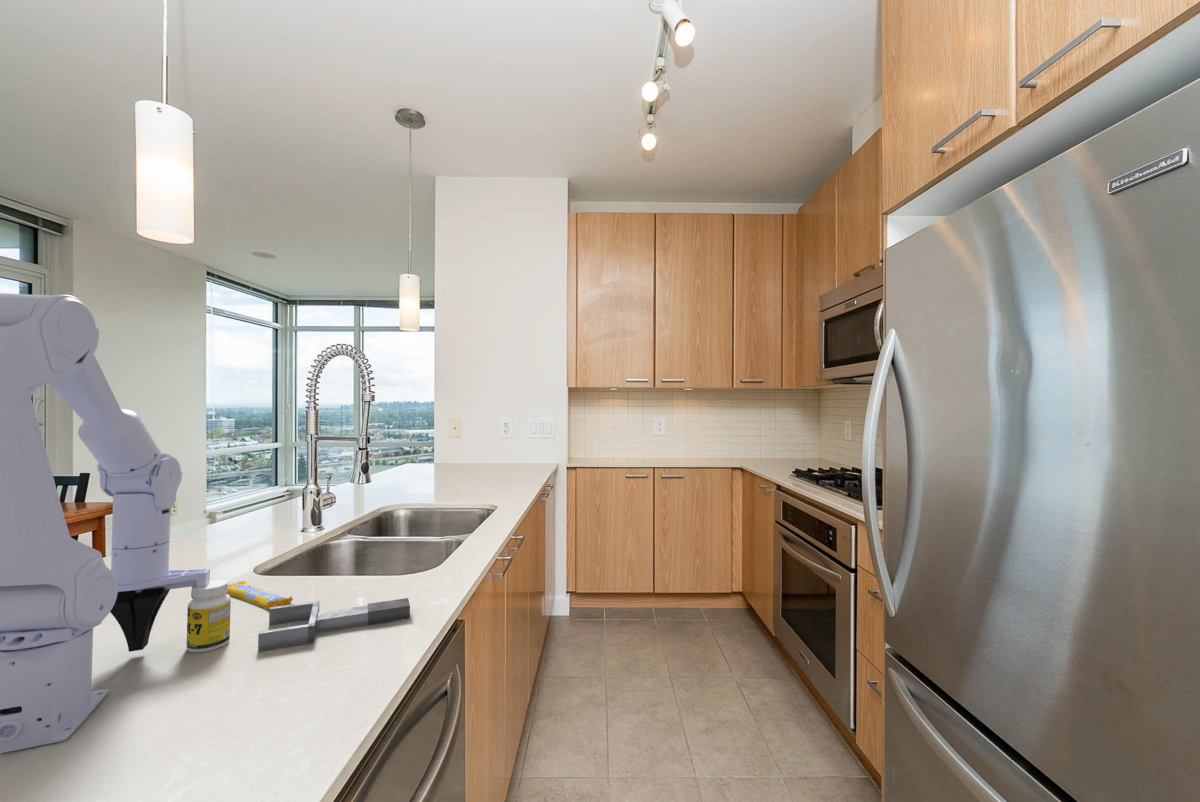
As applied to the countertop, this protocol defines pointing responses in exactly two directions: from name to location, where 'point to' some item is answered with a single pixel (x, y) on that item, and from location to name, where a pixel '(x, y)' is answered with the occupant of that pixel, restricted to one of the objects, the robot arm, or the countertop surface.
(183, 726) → the countertop surface
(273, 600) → the candy bar
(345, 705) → the countertop surface
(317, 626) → the open-end wrench
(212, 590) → the supplement bottle
